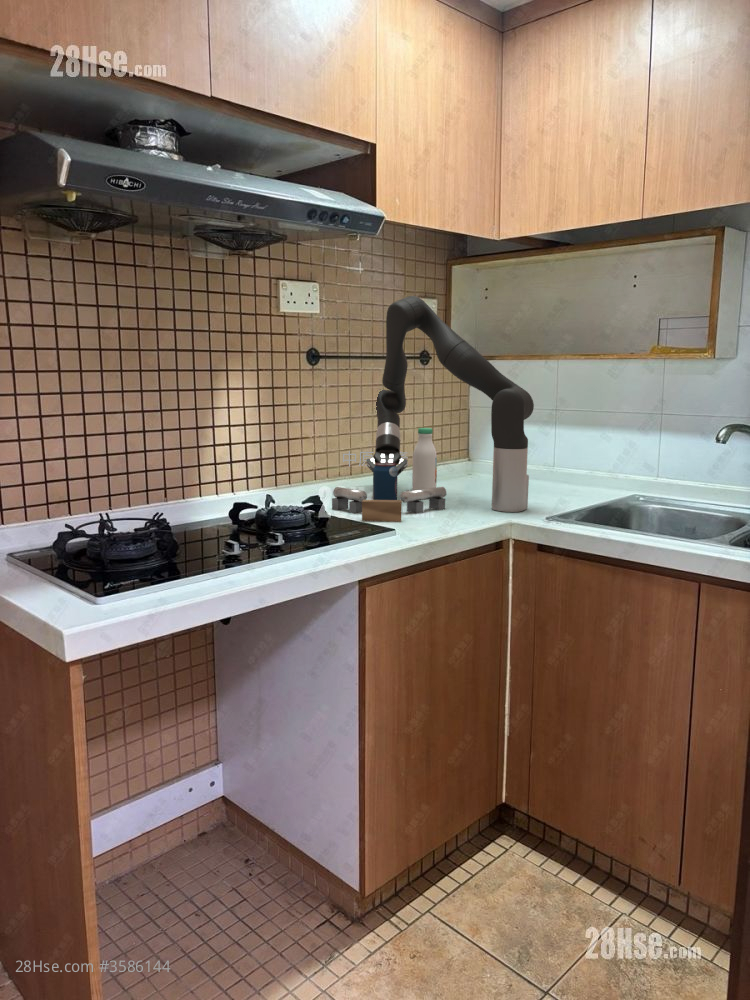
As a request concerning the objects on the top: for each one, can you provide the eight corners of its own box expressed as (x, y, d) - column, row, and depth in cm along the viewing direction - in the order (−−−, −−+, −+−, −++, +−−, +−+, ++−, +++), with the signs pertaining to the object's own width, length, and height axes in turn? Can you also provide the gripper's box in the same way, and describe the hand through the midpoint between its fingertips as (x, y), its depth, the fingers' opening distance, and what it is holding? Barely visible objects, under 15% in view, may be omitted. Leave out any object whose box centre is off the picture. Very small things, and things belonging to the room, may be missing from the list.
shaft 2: (437, 506, 202) (437, 485, 201) (447, 509, 199) (447, 487, 198) (399, 512, 194) (399, 490, 193) (408, 514, 191) (408, 492, 190)
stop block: (362, 518, 185) (362, 499, 184) (401, 519, 185) (401, 500, 184) (361, 521, 182) (362, 501, 181) (401, 521, 182) (401, 502, 181)
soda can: (401, 506, 203) (402, 464, 201) (380, 508, 200) (380, 465, 197) (389, 502, 209) (389, 461, 207) (368, 504, 206) (368, 462, 203)
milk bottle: (433, 493, 225) (434, 429, 222) (409, 491, 227) (410, 428, 224) (438, 489, 232) (439, 427, 229) (415, 488, 235) (416, 427, 231)
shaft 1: (368, 512, 194) (368, 490, 193) (357, 514, 191) (357, 491, 190) (342, 507, 201) (342, 486, 200) (332, 509, 198) (331, 487, 197)
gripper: (365, 432, 217) (363, 478, 207) (409, 433, 216) (408, 479, 207) (367, 448, 223) (364, 493, 213) (409, 448, 223) (408, 494, 213)
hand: (386, 486), depth 210 cm, fingers closed
